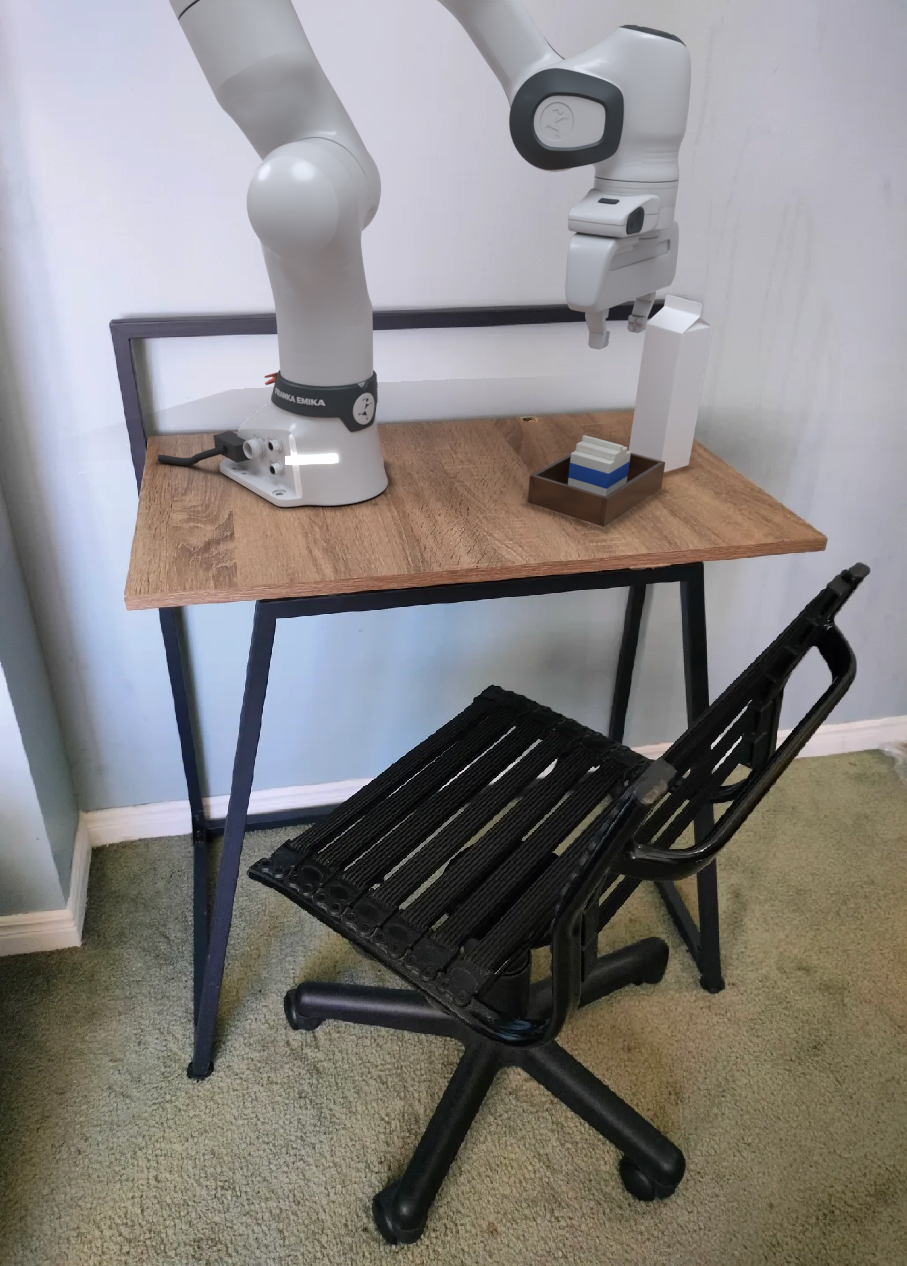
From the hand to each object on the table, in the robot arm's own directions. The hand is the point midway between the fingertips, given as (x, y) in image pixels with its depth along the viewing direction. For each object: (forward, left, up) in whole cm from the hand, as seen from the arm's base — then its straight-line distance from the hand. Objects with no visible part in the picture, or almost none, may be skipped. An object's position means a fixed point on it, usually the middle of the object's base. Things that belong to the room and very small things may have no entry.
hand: (617, 339), depth 106 cm
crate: (0, 0, -20) cm, 20 cm away
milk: (+1, +15, -20) cm, 25 cm away
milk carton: (0, 0, -19) cm, 19 cm away
